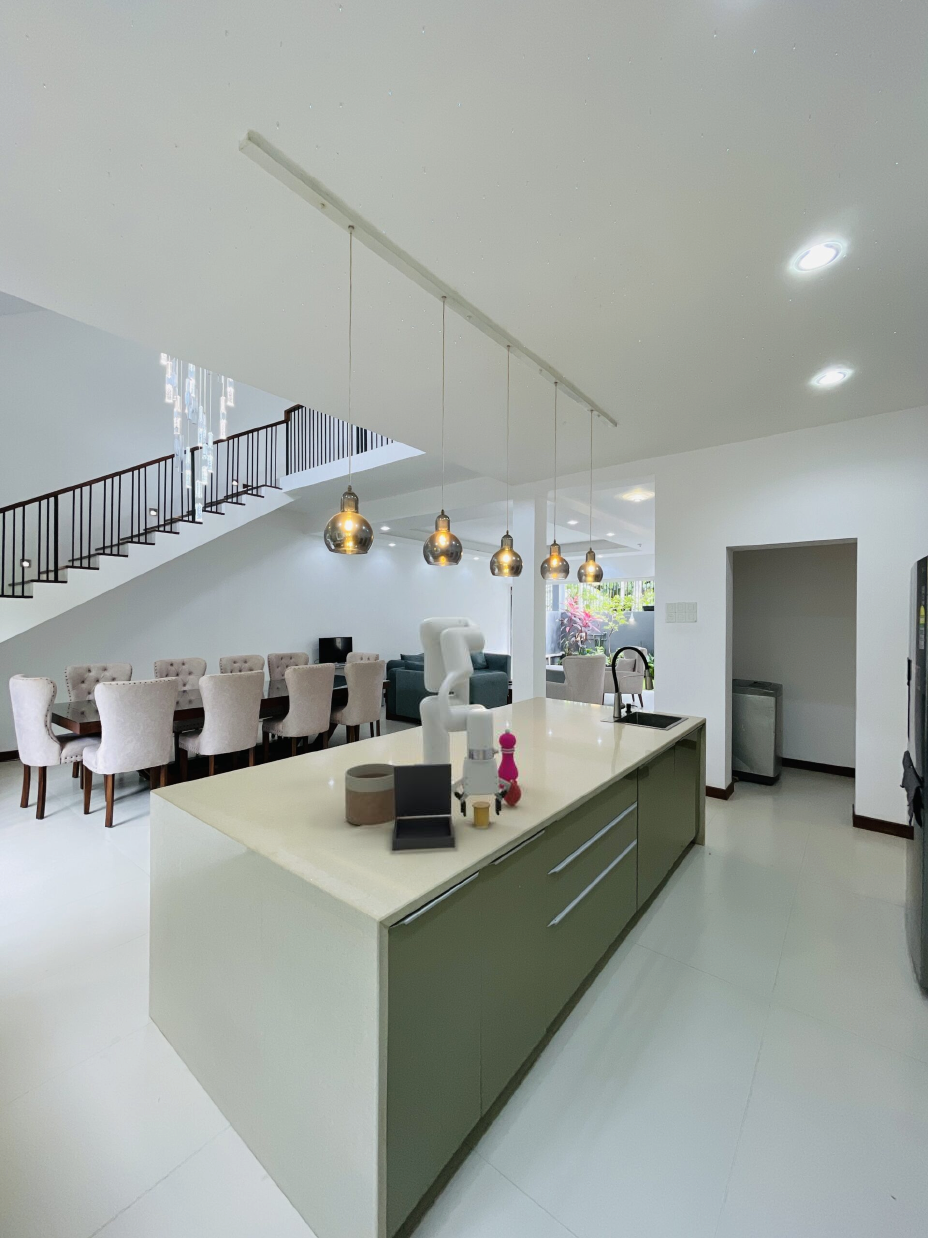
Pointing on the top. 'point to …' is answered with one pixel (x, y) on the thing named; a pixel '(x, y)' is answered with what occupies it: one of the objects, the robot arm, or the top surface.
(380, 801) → the planter
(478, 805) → the coffee pod
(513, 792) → the onion
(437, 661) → the robot arm
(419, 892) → the top surface
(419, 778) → the lid
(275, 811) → the top surface
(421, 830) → the dark grey lidded tray
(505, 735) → the pepper mill
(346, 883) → the top surface
